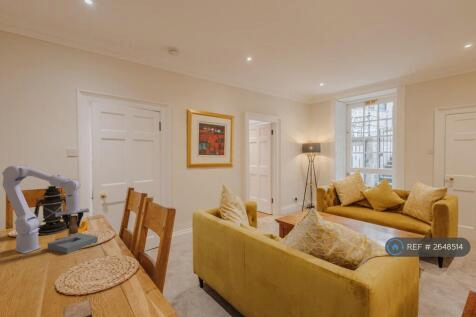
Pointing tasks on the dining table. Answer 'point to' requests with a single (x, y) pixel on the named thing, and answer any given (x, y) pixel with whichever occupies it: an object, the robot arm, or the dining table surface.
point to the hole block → (72, 243)
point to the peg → (73, 224)
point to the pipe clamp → (81, 228)
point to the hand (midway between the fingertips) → (73, 227)
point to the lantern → (51, 212)
